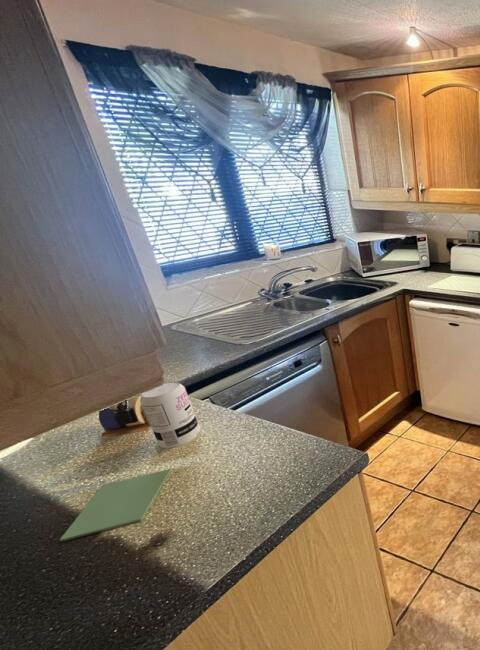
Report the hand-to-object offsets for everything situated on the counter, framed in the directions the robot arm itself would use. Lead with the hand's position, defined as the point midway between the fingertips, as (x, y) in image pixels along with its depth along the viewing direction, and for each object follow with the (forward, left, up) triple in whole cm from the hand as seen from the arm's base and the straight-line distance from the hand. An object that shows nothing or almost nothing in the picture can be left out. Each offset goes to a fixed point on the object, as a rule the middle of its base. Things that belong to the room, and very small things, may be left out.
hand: (138, 413), depth 101 cm
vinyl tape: (-4, 0, -3) cm, 5 cm away
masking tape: (0, 0, -3) cm, 3 cm away
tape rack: (-2, 0, -4) cm, 4 cm away
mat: (+8, -30, -4) cm, 31 cm away
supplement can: (+12, -11, -4) cm, 17 cm away
